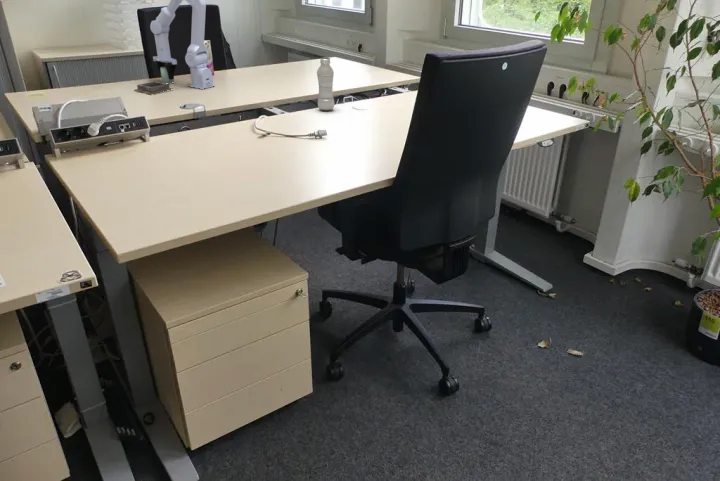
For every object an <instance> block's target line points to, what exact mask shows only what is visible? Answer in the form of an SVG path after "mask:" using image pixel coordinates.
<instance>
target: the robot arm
mask: <svg viewBox="0 0 720 481" xmlns="http://www.w3.org/2000/svg"><path fill="white" fill-rule="evenodd" d="M183 1H184V0H169V2H168V4H167V6H164V7H161V9H160V12H159V14H158V16H156V17H155V20H151V22H150V25H149V27H150V31H151V33H152V34H153V36H154V41H155V46H156V47H155V48H156V54H157V55H156V56H152V60H153V62H154V63H153V65H154V66H155V68H156V69H157V70H158V73H159V75H160V77H161V70H160V67H164V66H165V68H166V70H167V73H168V77H169V80H172V79H174V80H175V72H176V69H177V65H178V61H177V59H175V58H174V57H173V58H172V55H171V49H170V44H169V43H170V41H169V32H170V25H171V23H172V22H173V20H174V19H175V17H176V10H177V9H178V8H179V7H180V5H181V4H182V3H183ZM185 1H186V2H187V3H188V4H189V5H190V6H191V7H192V8H191V10H192V11H191V12H192V13H191V38H190V44H189V46H188V47H187V51H186V53H185V56H184V59H185V63H186V65H188V68H189V71H190V78H191V84H189V85H187V86H188V87H189V86H190V88H193V87H195V88H194V89H198V88H200V89H199V90H204V88H205V89H209V88H212V87H213V86H214V87H215V86H216V85H215V84H214V80H213V79H214V78H213V76H212V72H211V70H210V69H208V68H207V67H206V66H207V62H208V60H209V56H208V53H207V48H206V47H205V46H204V40H205V32H206V31H205V30H206V29H205V28H206V26H205V25H206V9H207V3H206V0H185ZM161 79H162V77H161ZM214 87H213V88H214Z"/></svg>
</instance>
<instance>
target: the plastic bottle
mask: <svg viewBox="0 0 720 481" xmlns="http://www.w3.org/2000/svg"><path fill="white" fill-rule="evenodd" d="M319 61H320V62H319V64H320V65H319V67H318V68H317V69H316V75H317V81H318V82H317V83H318V99H317V106H318V109H319V110H320V111H326V112H327V111H332V110H333V109H334V107H335V98H334V92H333V91H334V90H333V86H334V84H333V82H334V76H335V75H334V70H333V67H332V66H331V65H330V64H331V57H320V60H319Z"/></svg>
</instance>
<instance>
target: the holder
mask: <svg viewBox="0 0 720 481" xmlns="http://www.w3.org/2000/svg"><path fill="white" fill-rule="evenodd" d="M136 87H137V89H134V90H133V91H134V92H136V91H137V93H140V92H141V94H144V93H146V94H145V95H149V94H154V95H156V94H155V93H158V94H160V93H159V92H163V91H167V90H171V89H174V88H172V87H170V84H166V83H162V82H161V81H155V80H154V81H151V82H144V83H139V84H137V85H136ZM167 92H168V91H167ZM163 93H164V92H163Z"/></svg>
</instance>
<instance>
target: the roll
mask: <svg viewBox="0 0 720 481" xmlns="http://www.w3.org/2000/svg"><path fill="white" fill-rule="evenodd" d="M160 70H161V76H160V77H162V78H161V81H162V82H161V83H171V84H173V83H172V82H174V83H175V78H174V79H172V80H169V77H168V73H167V70H166V68H165V66H164V67H160Z"/></svg>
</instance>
